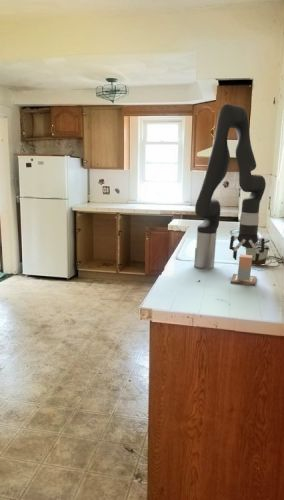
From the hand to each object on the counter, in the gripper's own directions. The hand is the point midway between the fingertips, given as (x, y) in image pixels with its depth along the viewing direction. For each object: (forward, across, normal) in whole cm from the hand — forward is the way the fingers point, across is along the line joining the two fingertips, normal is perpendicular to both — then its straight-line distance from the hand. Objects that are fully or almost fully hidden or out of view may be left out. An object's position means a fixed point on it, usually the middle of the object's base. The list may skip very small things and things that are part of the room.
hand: (245, 260), depth 161 cm
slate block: (+8, 0, 0) cm, 8 cm away
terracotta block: (+3, 0, 0) cm, 3 cm away
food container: (+9, +3, +35) cm, 36 cm away
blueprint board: (+9, 0, 0) cm, 9 cm away
